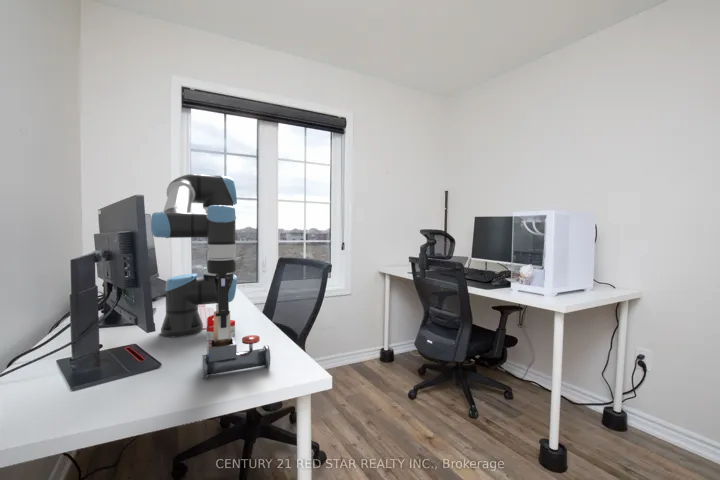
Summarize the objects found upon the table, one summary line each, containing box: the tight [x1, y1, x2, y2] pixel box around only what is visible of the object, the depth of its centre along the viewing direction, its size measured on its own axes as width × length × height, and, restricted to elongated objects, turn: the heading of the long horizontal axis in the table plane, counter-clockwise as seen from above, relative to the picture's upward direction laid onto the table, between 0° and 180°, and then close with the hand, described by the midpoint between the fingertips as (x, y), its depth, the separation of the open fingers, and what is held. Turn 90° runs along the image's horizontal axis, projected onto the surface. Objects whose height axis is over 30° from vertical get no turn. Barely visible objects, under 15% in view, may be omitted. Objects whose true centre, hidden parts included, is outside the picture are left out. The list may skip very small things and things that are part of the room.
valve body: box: [202, 334, 271, 380], centre depth 95 cm, size 18×7×10 cm, turn 116°
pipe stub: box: [213, 310, 231, 347], centre depth 93 cm, size 4×4×12 cm
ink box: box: [206, 314, 236, 357], centre depth 105 cm, size 8×5×15 cm, turn 168°
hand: (222, 331), depth 93 cm, fingers open, 13 cm apart
